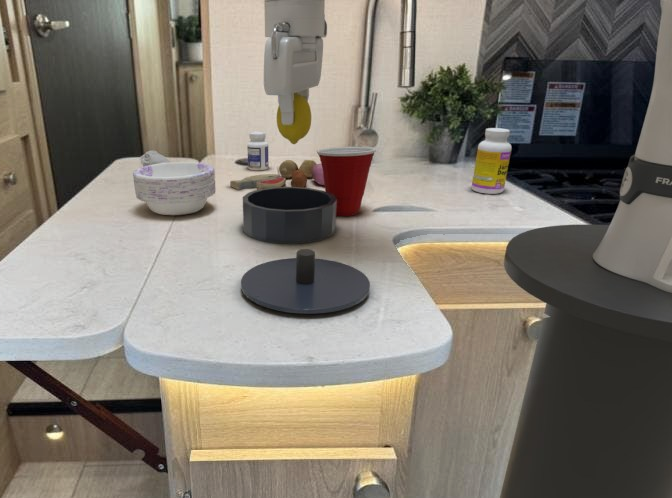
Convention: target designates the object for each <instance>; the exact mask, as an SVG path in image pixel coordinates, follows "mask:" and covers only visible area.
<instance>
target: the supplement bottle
mask: <svg viewBox="0 0 672 498" xmlns="http://www.w3.org/2000/svg"><path fill="white" fill-rule="evenodd" d="M510 132H511V130H510V129H507V128H502V127H501V128H500V127H488V128H485V132H484V137H485V139H484V140H482V141H480V142H479V143H478V145H477V151H476V158H475V163H474V169H473V174H472V180H471V189H472V190H473V191H474V192H476V193H480V194H487V195H497V194H501V193H502V192H504V190H505V185H506V180H507V177H508V170H509V164H510V159H511V155H512V149H513V148H512V144H511V143H510V142H508V138H509V137H510Z"/></svg>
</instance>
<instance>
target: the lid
mask: <svg viewBox="0 0 672 498" xmlns="http://www.w3.org/2000/svg"><path fill="white" fill-rule="evenodd" d="M295 255H296V256H295V257H290V258H289V257H288V258H280V259H275V260H270V261H266V262H262V263H260V264H258V265H255V266H253V267H251V268H250V269H247V271H246V272H244V274H243V275H242V277H241V280H240V289H241V291H242V293H243V295H244V296H245V297H246V298H247V299H249V300H250V301H251V302H253V303H254V304H257V305H259V306H261V307H264V308H267V309H270V310H273V311H278V312H283V313H284V312H285V313H290V314H304V315H309V314H312V315H314V314H316V315H317V314H326V313H334V312H338V311H343V310H346V309H350V308H351V307H354V306H356V305H358V304H360V303H361V302H363V301H364V300H365V299H366V298H367V297H368V295H369V293H370V290H371V282H370V279H369V278H368V277H367V275H366V274H365V273H364V272H362V271H361V270H360V269H358V268H355V267H353V266H352V265H349V264H345V263H343V262H339V261H335V260H330V259H324V258H316V251H315V250H313V249H311V248H310V249H309V248H301V249H298V250H297V251H296V254H295Z"/></svg>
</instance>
